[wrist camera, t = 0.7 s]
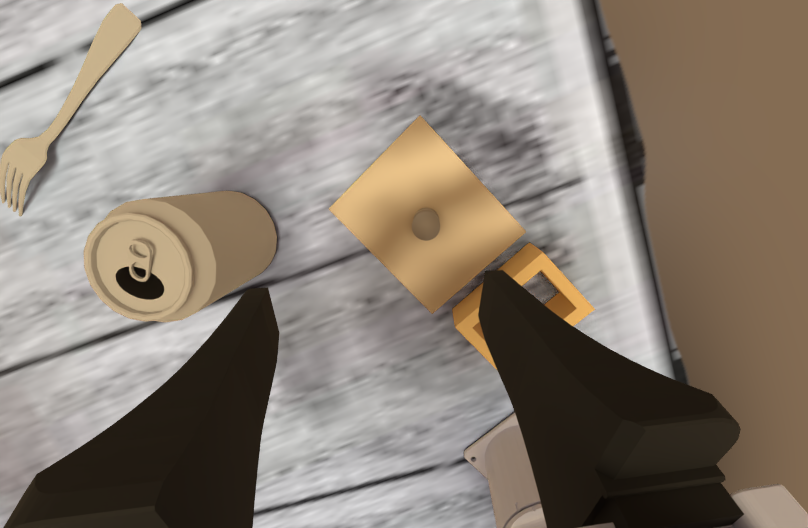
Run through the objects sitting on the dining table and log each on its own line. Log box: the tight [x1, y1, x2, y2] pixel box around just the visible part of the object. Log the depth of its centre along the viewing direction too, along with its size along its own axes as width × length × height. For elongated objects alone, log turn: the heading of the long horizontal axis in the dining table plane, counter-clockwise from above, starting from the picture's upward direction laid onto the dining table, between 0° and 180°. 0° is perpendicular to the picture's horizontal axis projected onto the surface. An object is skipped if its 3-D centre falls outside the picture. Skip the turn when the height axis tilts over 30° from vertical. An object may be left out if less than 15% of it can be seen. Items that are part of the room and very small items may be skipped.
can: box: [84, 191, 277, 322], centre depth 27 cm, size 8×8×12 cm
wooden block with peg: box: [329, 116, 526, 314], centre depth 30 cm, size 12×10×4 cm
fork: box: [0, 3, 141, 216], centre depth 32 cm, size 3×21×3 cm, turn 138°
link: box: [452, 242, 595, 369], centre depth 31 cm, size 6×8×4 cm
